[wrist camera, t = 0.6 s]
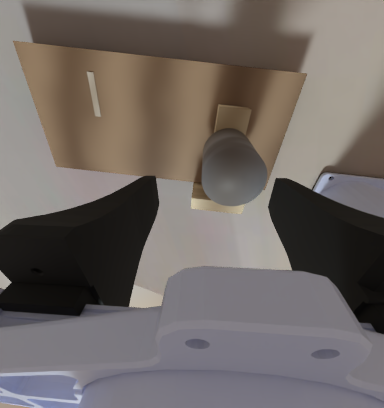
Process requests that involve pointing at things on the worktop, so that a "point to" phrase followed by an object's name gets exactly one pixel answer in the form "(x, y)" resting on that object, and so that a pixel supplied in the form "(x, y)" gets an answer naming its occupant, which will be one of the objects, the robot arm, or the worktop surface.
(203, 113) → the board
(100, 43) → the worktop surface
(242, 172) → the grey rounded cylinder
